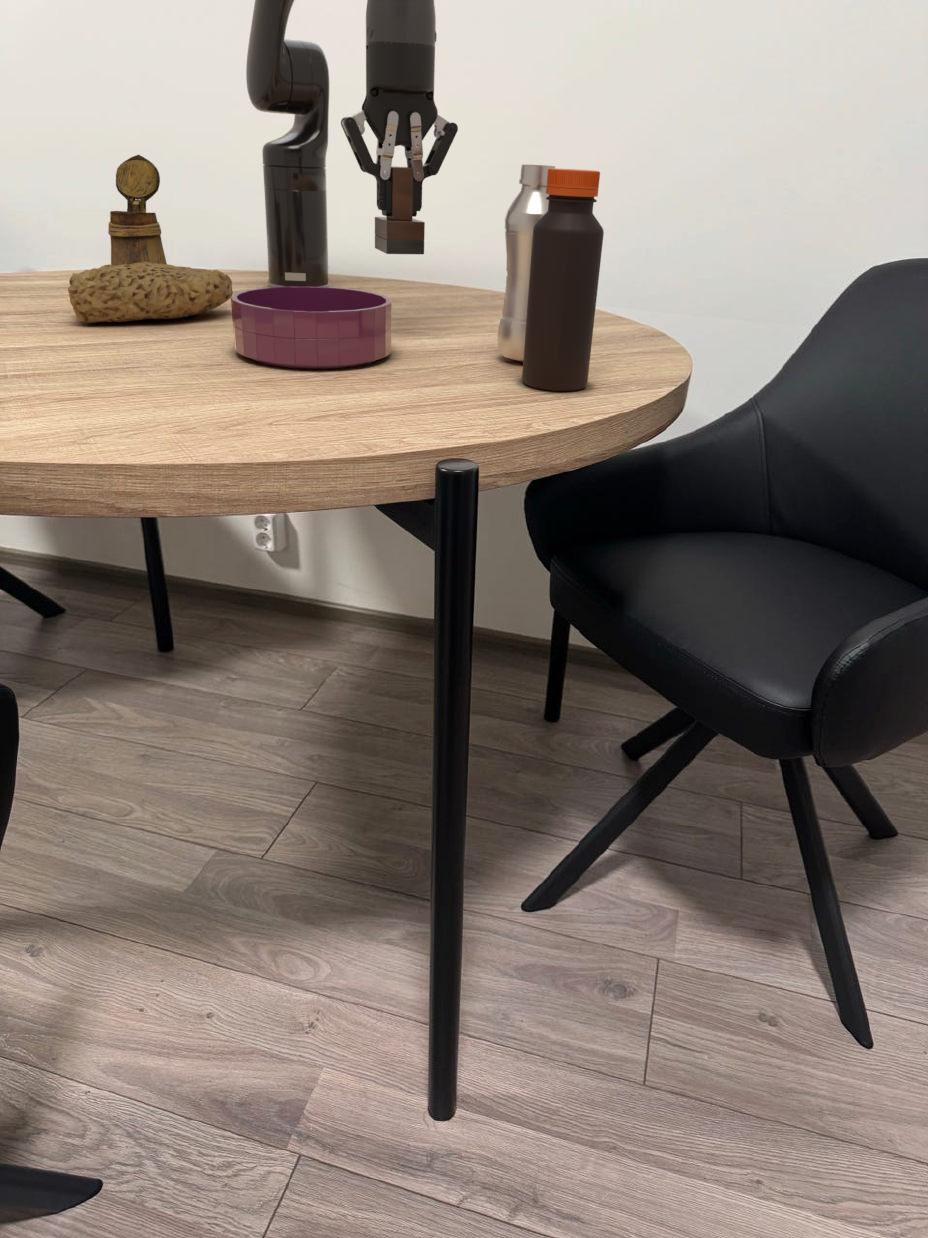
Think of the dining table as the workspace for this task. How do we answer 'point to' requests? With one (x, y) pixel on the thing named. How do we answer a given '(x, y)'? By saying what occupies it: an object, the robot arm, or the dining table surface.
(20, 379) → the dining table surface
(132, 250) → the brown wooden stand
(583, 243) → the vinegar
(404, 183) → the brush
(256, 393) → the dining table surface
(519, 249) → the silver metal bottle
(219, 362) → the dining table surface
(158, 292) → the sponge
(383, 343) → the bowl
